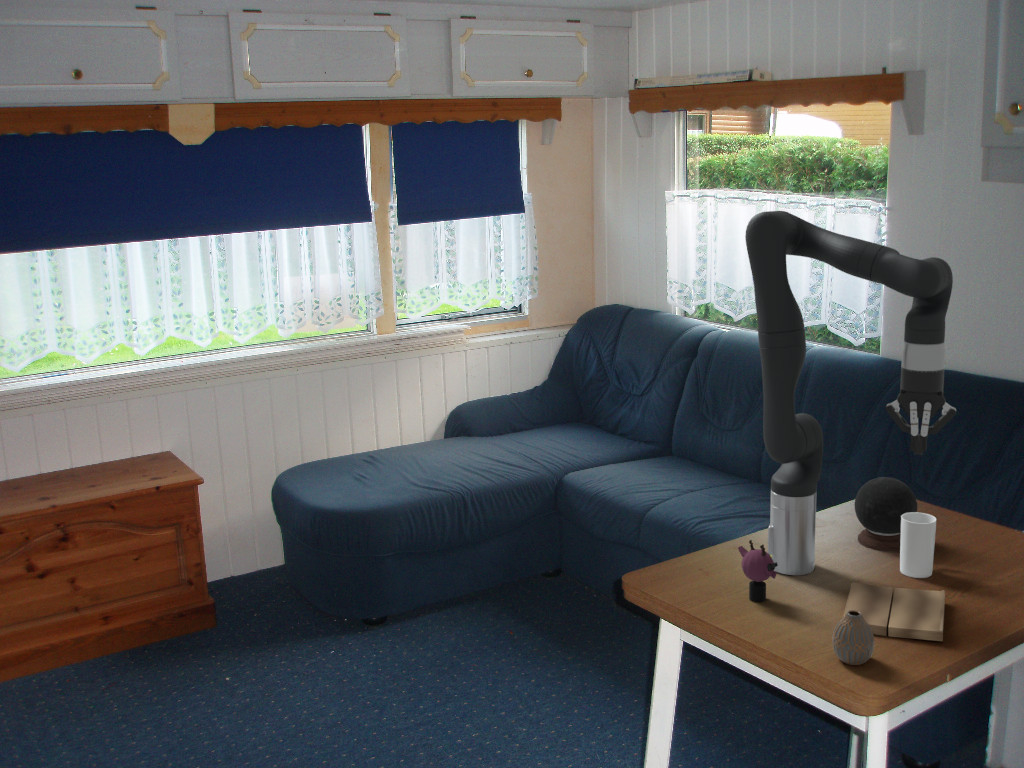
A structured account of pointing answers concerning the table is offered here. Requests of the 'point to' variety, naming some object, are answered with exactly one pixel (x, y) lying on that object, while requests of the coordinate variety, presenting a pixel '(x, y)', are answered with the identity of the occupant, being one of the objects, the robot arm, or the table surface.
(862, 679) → the table surface
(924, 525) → the mug
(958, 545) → the table surface
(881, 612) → the fixed plank
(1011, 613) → the table surface
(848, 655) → the vase
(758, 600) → the figurine
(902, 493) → the black sphere on base
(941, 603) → the board
